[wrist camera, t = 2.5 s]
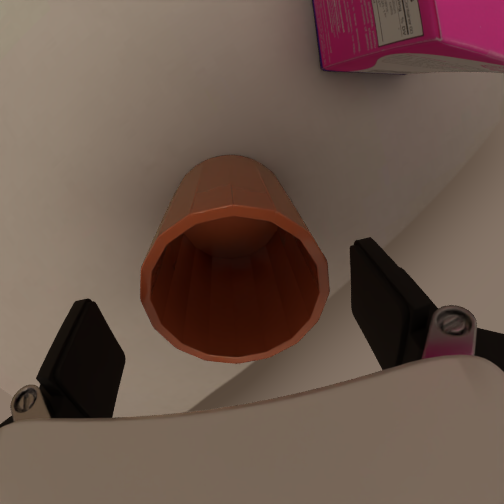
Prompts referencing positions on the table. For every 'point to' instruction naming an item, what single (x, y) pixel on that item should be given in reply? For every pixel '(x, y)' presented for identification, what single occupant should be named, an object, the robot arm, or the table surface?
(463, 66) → the supplement box
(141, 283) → the cup
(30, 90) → the table surface
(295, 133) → the table surface
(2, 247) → the table surface
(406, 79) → the table surface
